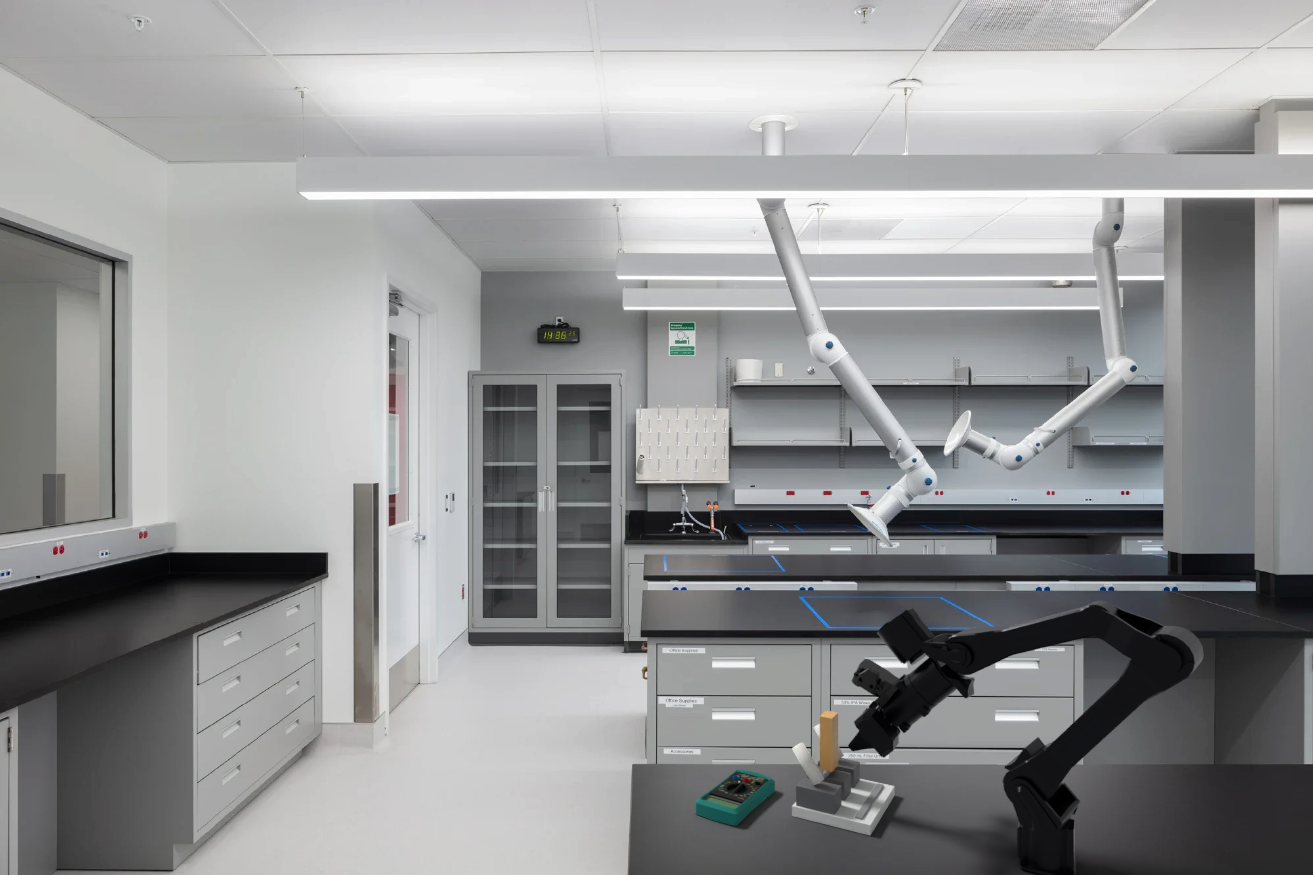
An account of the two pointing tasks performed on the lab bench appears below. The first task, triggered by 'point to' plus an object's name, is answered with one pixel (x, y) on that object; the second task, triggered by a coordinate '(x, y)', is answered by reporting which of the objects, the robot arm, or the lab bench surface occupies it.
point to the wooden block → (828, 742)
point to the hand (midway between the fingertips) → (850, 747)
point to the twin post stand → (839, 794)
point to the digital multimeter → (735, 797)
